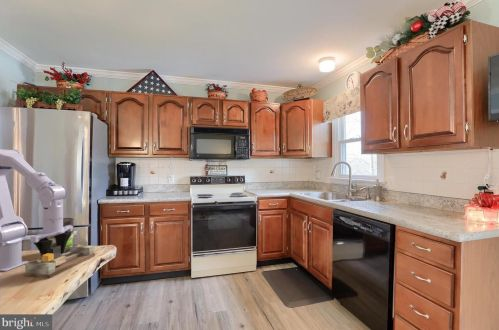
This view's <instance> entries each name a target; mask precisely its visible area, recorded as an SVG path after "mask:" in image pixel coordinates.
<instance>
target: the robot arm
mask: <svg viewBox="0 0 499 330" xmlns="http://www.w3.org/2000/svg"><path fill="white" fill-rule="evenodd" d="M13 170H15V172H17V173H18V174H20V175H22V177H24V178H25V179H26V180H25V182H26V184H27V185H28V186H29V187H30V188H31V189H33V191H35V192H36V193H38V194H37V196H38V201H40V206H41V207H42V231H41V232H38V233H37V234H34V235H32V236H30V243H33V244H34V245H35V247H36V248H37V249H38V251H39V254H40V256H41V257H40V258H42V255H44V254H47V253H50V247H51V244H52V241H53V240H49V239H47V238H49V237H52V236H54V237H55V240H56V246H61V253H64V250H65V246H66V243H67V241H68V239H69V238H70V236H71V233H68V231H73V232H74V225H73V226H65V227H63V218H64V200H65V199H66V198H67V196H68V190H67V187H65V185H63V184H58V183H55V181H53V180H52V179H50V178H49V177H48V176H47V174H46V173H45V172H43V171H42V172H40V171H36V170H35V169H34V168H33V167H32V166H31V164H29V163H28V162H27V161H26V160H25V156H24V154H23V153H21V151H20V150H18V149H5V148H4V149H0V272H7V271H10V270H12V269H15V268H17V267H20V266H23V265H25V264H27V263H29V261H28V260H23V258H22V257H23V256H22V252H23V251H22V246H23V245H22V241H24V239H25V237H26V236H27V235H28V232H29V229H28V226H27V224H26V222H25V221H24V219H23V218H22V217H20V216H18V215H16V214H15V209H14V205H13V202H12V198H11V193H10V189H9V185H8V181H7V178H6V176H7V175H8V173H11V172H12V171H13Z"/></svg>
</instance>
